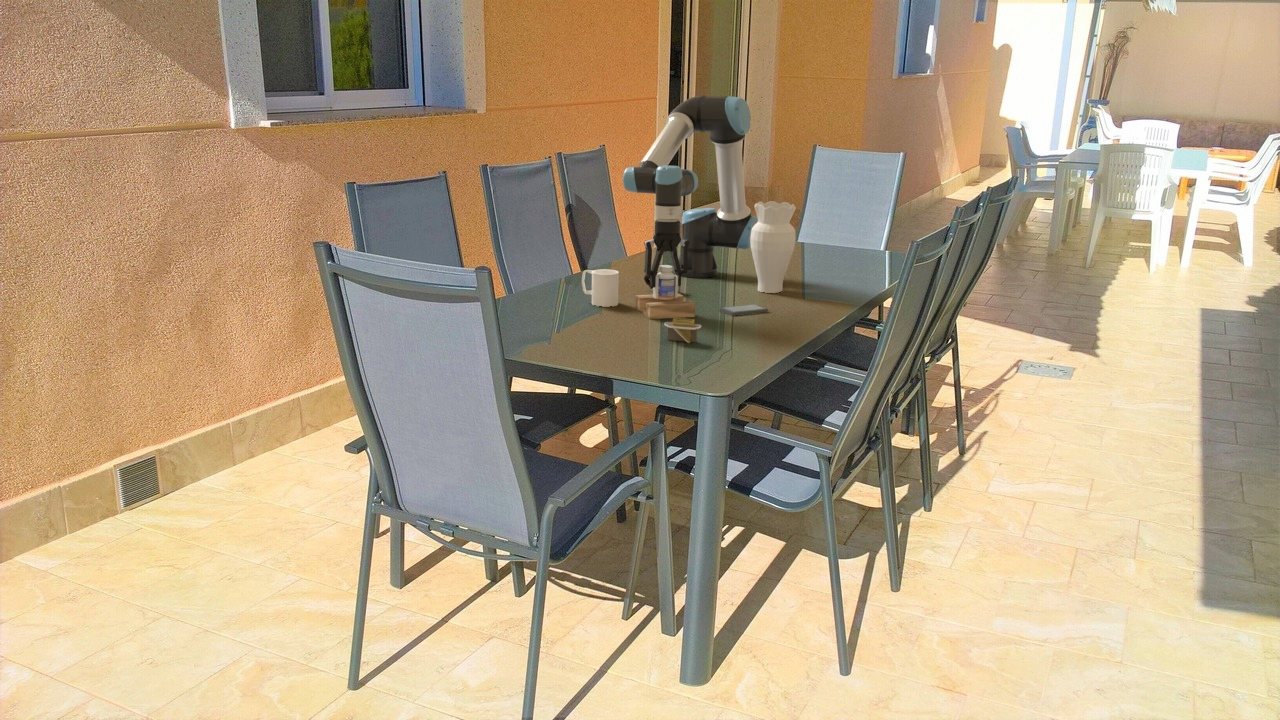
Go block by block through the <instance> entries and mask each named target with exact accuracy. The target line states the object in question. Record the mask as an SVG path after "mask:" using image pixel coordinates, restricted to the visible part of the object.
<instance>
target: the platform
mask: <svg viewBox="0 0 1280 720" xmlns="http://www.w3.org/2000/svg"><path fill="white" fill-rule="evenodd" d="M663 325H664V326H665V327H667V341H677V342H678V341H680V342H686V343H687V344H690V343H691V342H692V343H697V342H698V341H697V340H698V339H697V337H698V335H697V334H698V330H699V329H701V328H702V324H701V323H700V324H698V323H696V324H695V319H692V318H691V319H690V318H681V317H680V318H672V321H671V322H669V321H665V322H664V324H663Z"/></svg>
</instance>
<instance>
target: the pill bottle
mask: <svg viewBox="0 0 1280 720" xmlns="http://www.w3.org/2000/svg"><path fill="white" fill-rule="evenodd" d="M658 270H659V271H660V272H659V271H658V272H659V273H658V274H657V276H658V277H659V286H658V299H661V300H671V299H673V298H674V284H675V275H674V274H675V273H674V272H673V271H674V265H670V264H669V265H668V264H662V265H661V264H660V265H659V268H658ZM672 272H673V273H674V274H673V273H672Z"/></svg>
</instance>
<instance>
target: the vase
mask: <svg viewBox="0 0 1280 720" xmlns="http://www.w3.org/2000/svg"><path fill="white" fill-rule="evenodd" d="M753 206H754V210H755V214H756V218H757V220H758V222H757V223H756V224H755V225H754V226H753V228H752V231H751V237H750V240H751V247H750V250H751V255H752V258H753V262H754V268H755V272H756V277H757V291H758V292H759V291H760V292H759V293H761V292H765V293H764V294H766V293H775V292H780V291H782V292H783V282H784V278H785V276H786V272H787V270H788V267H789V263H790V261H791V258H792V257H793V253H794V250H795V245H796V229H795V227H794V226H793V225H792V224H791V220H792V218H793V216H794V213H795V211H796V209H797V208H796V205H795V204H794V203H791V204H790V203H789V202H787V201H782V202H780V203H779V202H777V201H773V200H769V201H767V202H765V203H764V202H763V201H758V202H756V203H755V204H754V205H753Z"/></svg>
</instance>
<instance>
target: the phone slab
mask: <svg viewBox="0 0 1280 720" xmlns="http://www.w3.org/2000/svg"><path fill="white" fill-rule="evenodd" d="M765 311H768V312H769V308H767V307H764V306H761V305H759V304H756V303H755V304H753V303H752V304H743V305H734V306H723V307H719V312H720V313H723V314H727V315H728V316H730V315H731V317H733V316H734V317H735V316H736V315H737V316H744V314H746V315H753V314H752V313H756V314H760V313H759V312H765ZM765 313H766V312H765Z"/></svg>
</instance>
